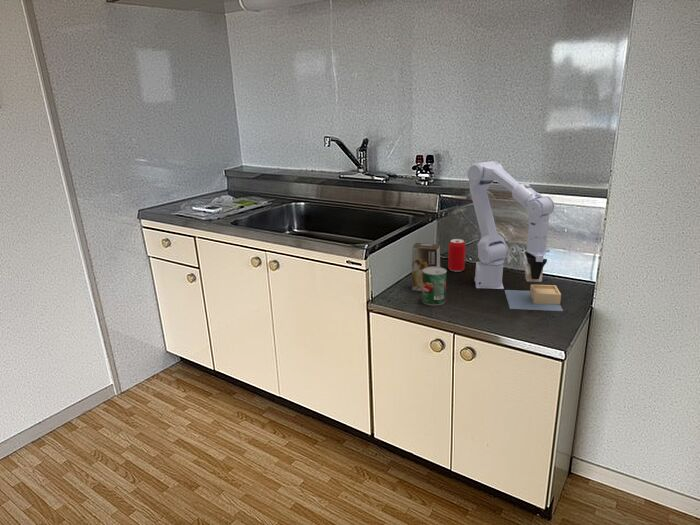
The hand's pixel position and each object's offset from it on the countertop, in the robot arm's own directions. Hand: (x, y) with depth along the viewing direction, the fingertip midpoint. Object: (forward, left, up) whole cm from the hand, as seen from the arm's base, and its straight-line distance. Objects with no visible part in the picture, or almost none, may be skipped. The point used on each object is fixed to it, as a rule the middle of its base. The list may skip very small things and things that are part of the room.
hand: (533, 276), depth 158 cm
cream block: (0, 0, -1) cm, 1 cm away
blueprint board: (0, 0, -9) cm, 9 cm away
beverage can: (-24, +29, -9) cm, 39 cm away
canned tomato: (-32, -3, -9) cm, 33 cm away
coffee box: (-35, +8, -9) cm, 37 cm away
